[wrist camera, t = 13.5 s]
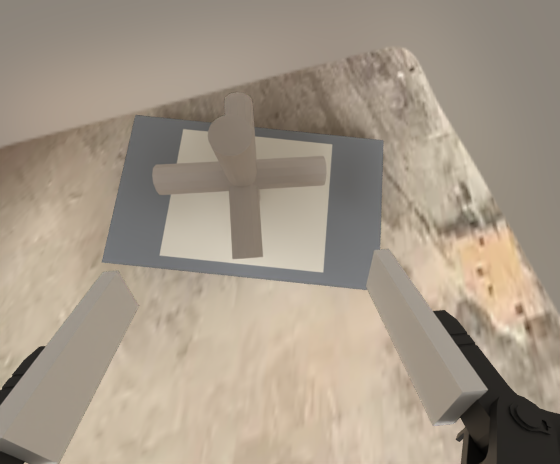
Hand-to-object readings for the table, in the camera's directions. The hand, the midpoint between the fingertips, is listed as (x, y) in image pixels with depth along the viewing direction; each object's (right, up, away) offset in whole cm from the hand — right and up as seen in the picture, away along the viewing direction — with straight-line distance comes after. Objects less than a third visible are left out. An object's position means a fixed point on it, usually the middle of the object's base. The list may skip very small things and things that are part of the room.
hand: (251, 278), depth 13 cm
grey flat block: (-1, +5, +11) cm, 12 cm away
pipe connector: (-1, +5, +7) cm, 9 cm away
